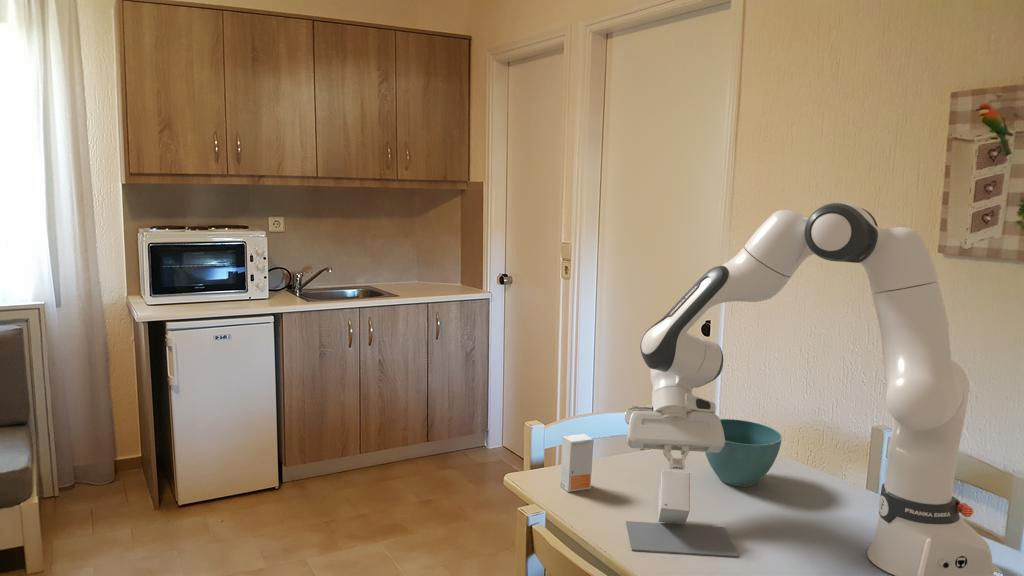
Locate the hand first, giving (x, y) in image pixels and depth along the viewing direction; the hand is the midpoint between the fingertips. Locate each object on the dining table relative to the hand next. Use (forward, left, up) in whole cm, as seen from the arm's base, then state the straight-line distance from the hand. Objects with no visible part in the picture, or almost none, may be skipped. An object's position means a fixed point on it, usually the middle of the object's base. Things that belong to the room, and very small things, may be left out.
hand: (677, 468), depth 151 cm
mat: (0, +8, -11) cm, 14 cm away
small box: (+1, -1, -8) cm, 9 cm away
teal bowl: (-19, -24, -12) cm, 33 cm away
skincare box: (+20, -14, -12) cm, 27 cm away
